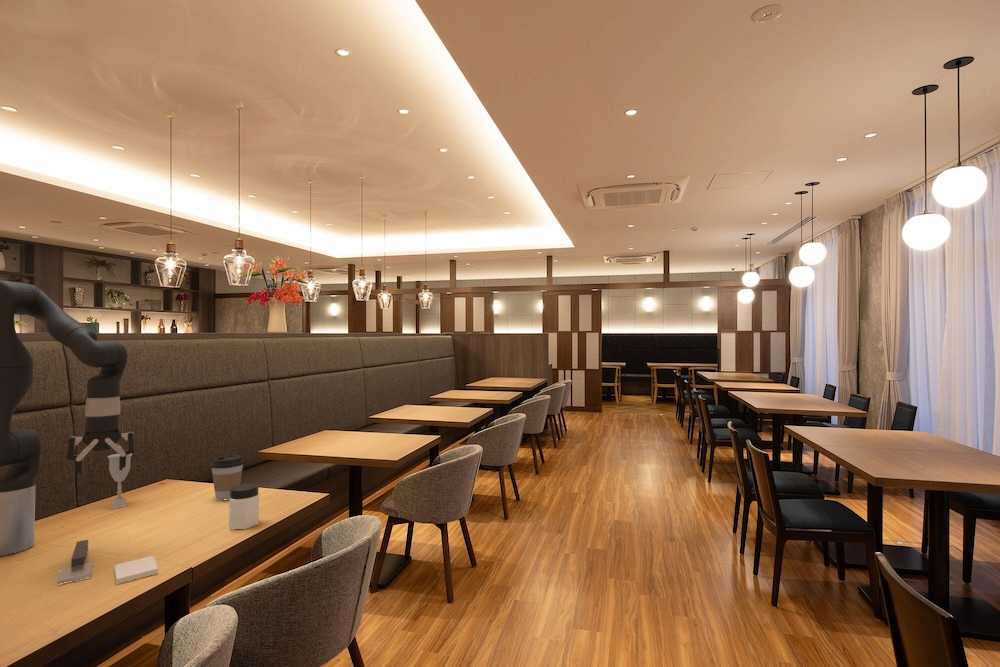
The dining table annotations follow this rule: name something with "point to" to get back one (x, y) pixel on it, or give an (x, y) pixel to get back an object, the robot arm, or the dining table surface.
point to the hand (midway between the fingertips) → (101, 471)
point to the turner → (77, 565)
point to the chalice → (118, 477)
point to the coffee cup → (226, 474)
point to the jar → (243, 506)
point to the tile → (135, 569)
